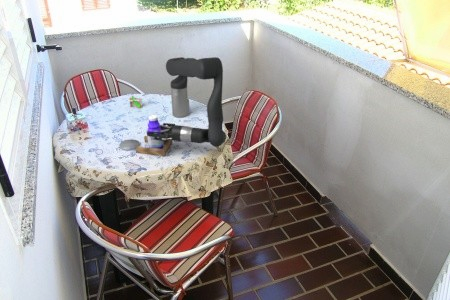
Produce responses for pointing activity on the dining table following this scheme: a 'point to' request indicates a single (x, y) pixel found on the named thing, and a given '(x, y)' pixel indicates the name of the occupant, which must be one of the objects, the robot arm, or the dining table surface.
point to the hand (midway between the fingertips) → (150, 130)
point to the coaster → (129, 144)
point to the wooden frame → (155, 151)
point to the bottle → (154, 127)
